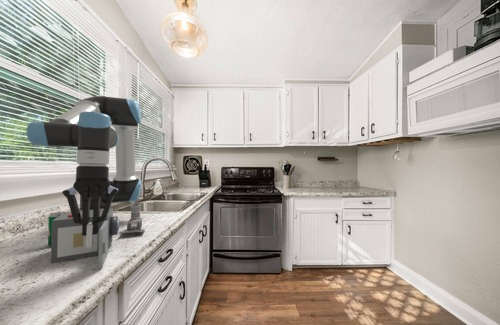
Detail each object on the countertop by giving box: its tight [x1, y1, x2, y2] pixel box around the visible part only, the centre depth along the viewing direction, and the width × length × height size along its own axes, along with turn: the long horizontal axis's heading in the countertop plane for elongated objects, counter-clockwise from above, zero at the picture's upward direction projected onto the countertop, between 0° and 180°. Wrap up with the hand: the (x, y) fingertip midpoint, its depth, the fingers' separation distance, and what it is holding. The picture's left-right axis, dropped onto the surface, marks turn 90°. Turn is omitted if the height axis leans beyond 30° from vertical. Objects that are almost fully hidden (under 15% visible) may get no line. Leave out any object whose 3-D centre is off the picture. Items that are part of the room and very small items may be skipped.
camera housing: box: [50, 207, 120, 264], centre depth 71 cm, size 14×16×14 cm
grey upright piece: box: [119, 203, 146, 235], centre depth 91 cm, size 9×12×15 cm
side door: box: [97, 220, 109, 269], centre depth 62 cm, size 2×12×11 cm, turn 29°
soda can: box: [47, 211, 67, 247], centre depth 76 cm, size 5×5×12 cm
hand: (90, 245), depth 58 cm, fingers closed
